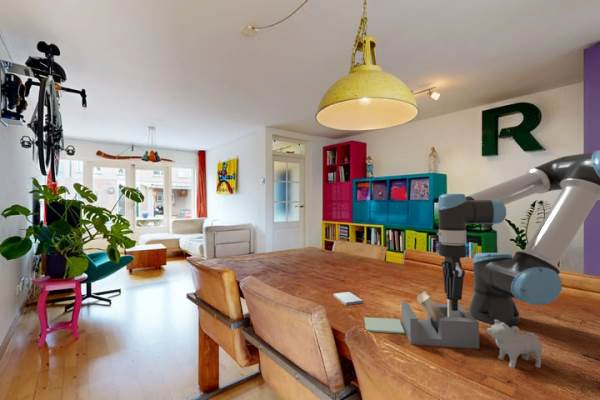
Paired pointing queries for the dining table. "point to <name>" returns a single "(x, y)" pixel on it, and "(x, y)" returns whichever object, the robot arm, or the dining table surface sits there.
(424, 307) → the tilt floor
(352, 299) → the hard drive
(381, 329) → the mat
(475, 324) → the dock
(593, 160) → the robot arm
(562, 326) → the dining table surface
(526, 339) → the animal figurine
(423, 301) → the tile
